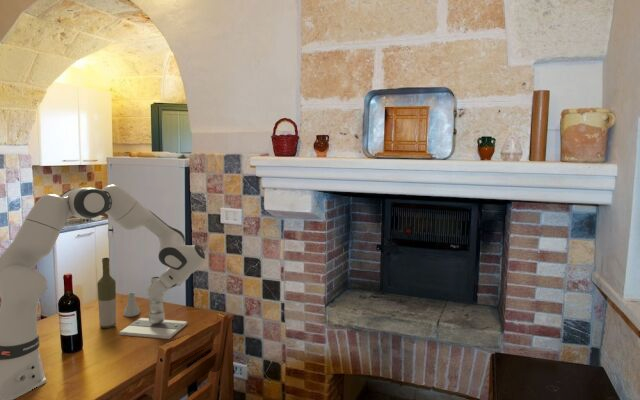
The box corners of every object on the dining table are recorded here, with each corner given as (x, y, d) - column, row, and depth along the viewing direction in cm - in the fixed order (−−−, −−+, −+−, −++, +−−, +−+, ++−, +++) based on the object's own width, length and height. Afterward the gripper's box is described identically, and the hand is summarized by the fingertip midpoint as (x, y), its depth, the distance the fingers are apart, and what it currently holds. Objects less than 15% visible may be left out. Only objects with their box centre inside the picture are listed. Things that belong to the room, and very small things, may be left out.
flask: (119, 316, 205) (119, 295, 204) (130, 310, 212) (130, 290, 210) (132, 318, 203) (132, 296, 201) (143, 312, 209) (143, 292, 208)
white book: (169, 338, 181) (169, 334, 181) (119, 334, 184) (119, 330, 184) (186, 324, 197) (186, 320, 197) (140, 320, 200) (140, 316, 200)
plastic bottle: (165, 324, 191) (164, 279, 189) (148, 326, 188) (147, 280, 186) (164, 319, 196) (163, 275, 194) (148, 321, 194) (147, 276, 192)
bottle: (120, 323, 196) (118, 256, 192) (111, 329, 189) (108, 260, 186) (104, 322, 196) (102, 256, 193) (95, 329, 189) (92, 260, 186)
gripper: (181, 264, 199) (161, 284, 201) (158, 276, 179) (136, 298, 181) (191, 274, 199) (171, 294, 201) (169, 287, 179) (147, 309, 181)
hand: (154, 296), depth 191 cm, fingers closed on plastic bottle, 6 cm apart
